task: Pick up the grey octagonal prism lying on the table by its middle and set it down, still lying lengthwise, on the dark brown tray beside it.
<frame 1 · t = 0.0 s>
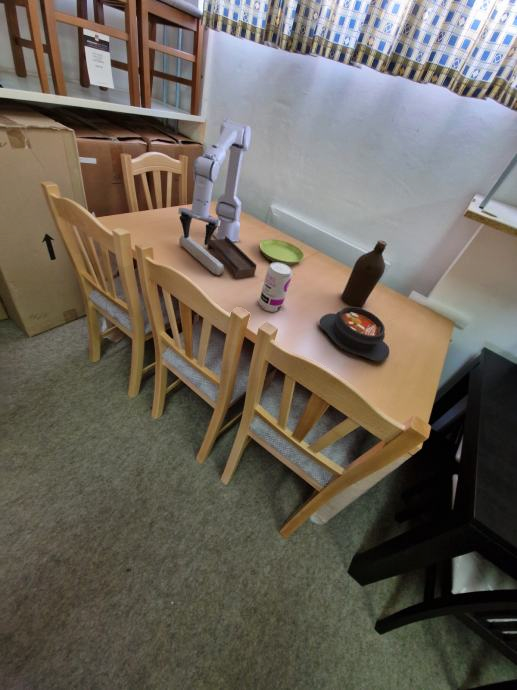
hand: (196, 241, 104), 11 cm above the table, tool pointing down, fingers open, 7 cm apart
grey octagonal prism: (201, 261, 116), on the table
saucer: (280, 256, 133), on the table
casserole: (351, 340, 99), on the table
olive oil: (351, 301, 118), on the table
supplement can: (269, 306, 104), on the table
dark brown tray: (229, 262, 120), on the table
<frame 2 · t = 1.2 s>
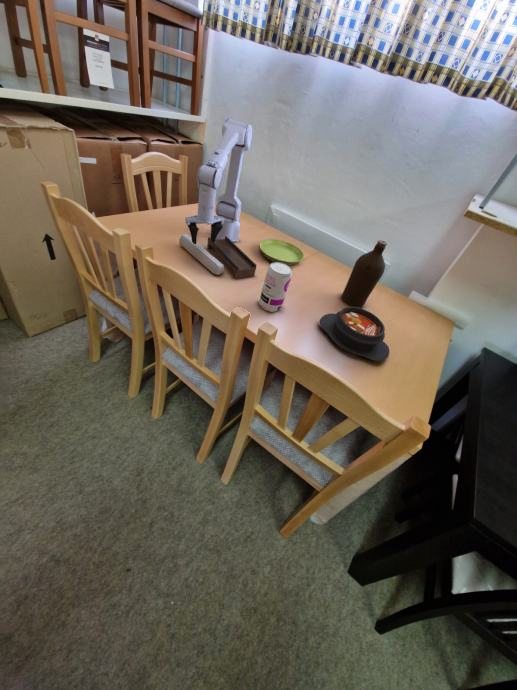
hand: (203, 242, 111), 8 cm above the table, tool pointing down, fingers open, 7 cm apart
nothing on the table moved.
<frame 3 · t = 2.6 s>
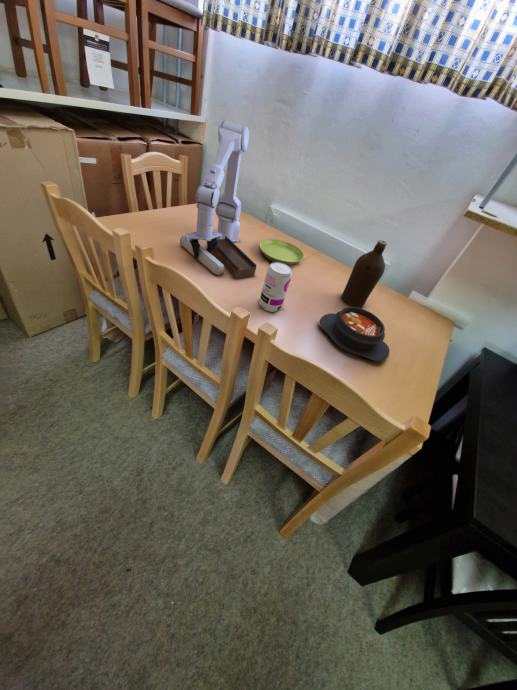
hand: (202, 256, 115), 1 cm above the table, tool pointing down, fingers closed on grey octagonal prism, 5 cm apart
grey octagonal prism: (201, 260, 116), on the table, touching gripper
everything else where it was.
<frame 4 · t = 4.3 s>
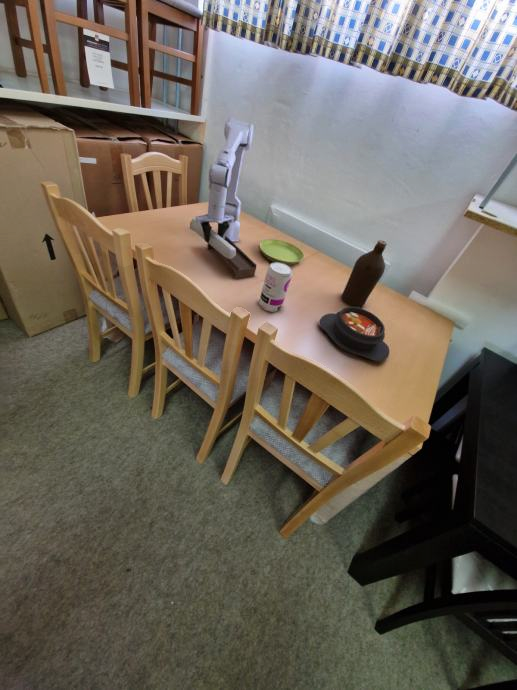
hand: (212, 241, 112), 8 cm above the table, tool pointing down, fingers closed on grey octagonal prism, 5 cm apart
grey octagonal prism: (212, 245, 113), point 7 cm above the table, touching gripper
everything else where it was.
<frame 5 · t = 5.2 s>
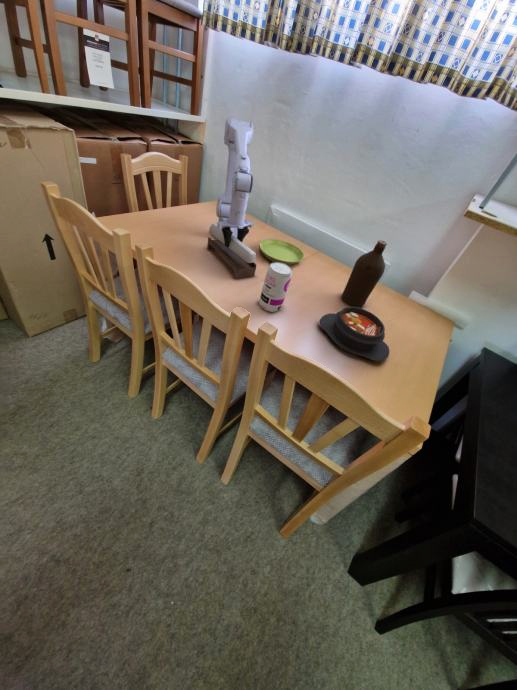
hand: (232, 245, 115), 7 cm above the table, tool pointing down, fingers closed on grey octagonal prism, 5 cm apart
grey octagonal prism: (231, 249, 116), point 6 cm above the table, touching gripper
everything else where it was.
when the fingers open (6 cm above the table, at t = 6.1 s): grey octagonal prism stays where it is, resting on dark brown tray.
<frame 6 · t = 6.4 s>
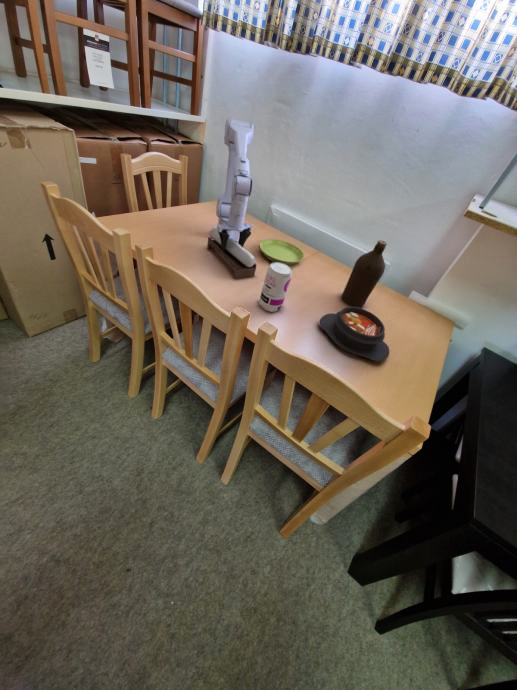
hand: (232, 248, 115), 6 cm above the table, tool pointing down, fingers open, 7 cm apart
grey octagonal prism: (230, 253, 117), point 4 cm above the table, touching dark brown tray
everything else where it was.
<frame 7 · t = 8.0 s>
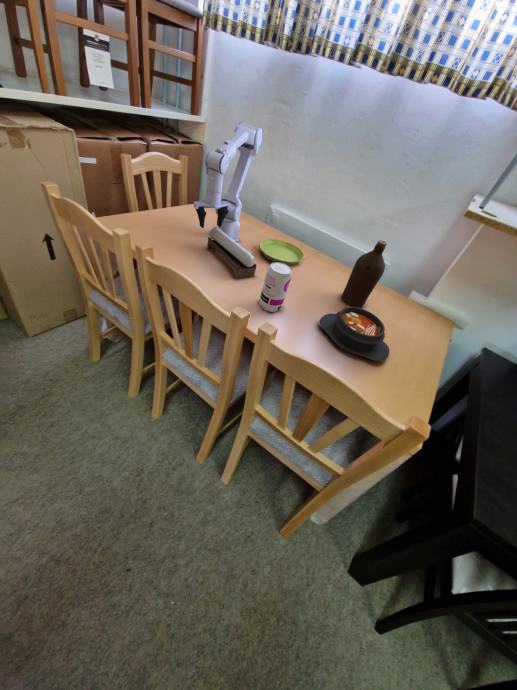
hand: (210, 226, 117), 10 cm above the table, tool pointing down, fingers open, 7 cm apart
nothing on the table moved.
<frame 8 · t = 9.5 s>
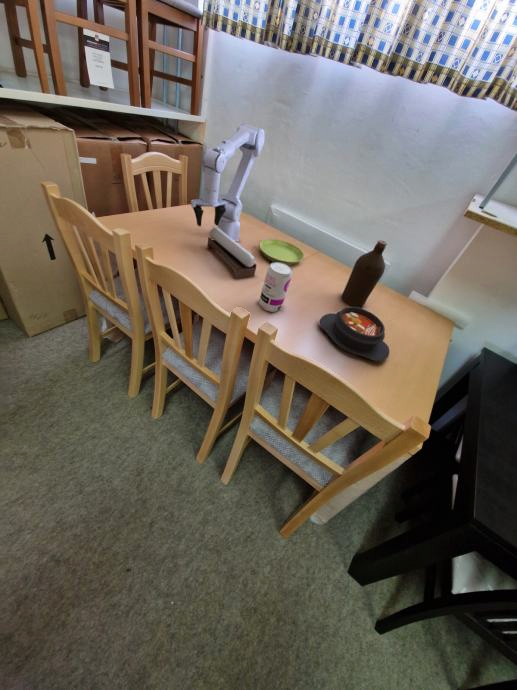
hand: (207, 224, 117), 10 cm above the table, tool pointing down, fingers open, 7 cm apart
nothing on the table moved.
at the end: grey octagonal prism 0.4 cm off-centre on the dark brown tray, point 4.1 cm above the dark brown tray's base; the gripper is holding nothing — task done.
